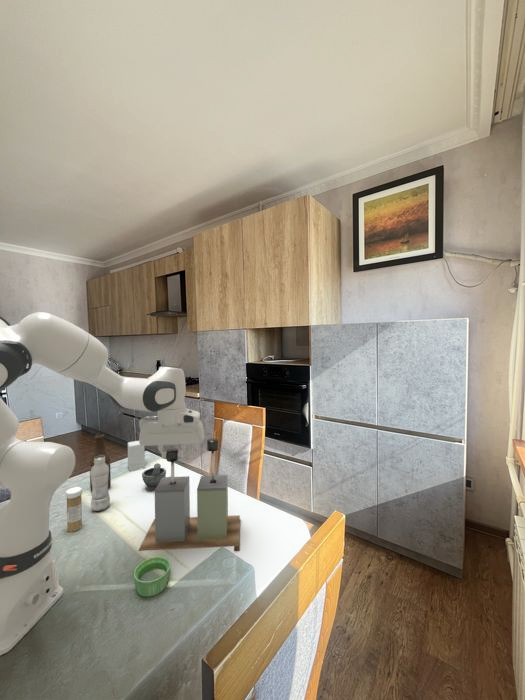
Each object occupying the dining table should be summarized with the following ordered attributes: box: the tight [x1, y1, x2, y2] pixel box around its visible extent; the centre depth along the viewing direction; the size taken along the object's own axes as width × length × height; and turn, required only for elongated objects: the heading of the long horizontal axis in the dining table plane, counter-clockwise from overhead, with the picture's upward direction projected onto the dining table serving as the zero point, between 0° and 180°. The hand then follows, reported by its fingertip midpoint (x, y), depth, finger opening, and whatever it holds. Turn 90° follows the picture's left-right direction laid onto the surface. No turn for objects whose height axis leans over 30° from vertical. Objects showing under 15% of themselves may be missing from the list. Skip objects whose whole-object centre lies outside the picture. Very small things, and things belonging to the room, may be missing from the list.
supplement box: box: [127, 440, 146, 472], centre depth 152 cm, size 7×7×13 cm
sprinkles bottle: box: [65, 486, 83, 533], centre depth 101 cm, size 5×5×13 cm
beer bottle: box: [89, 433, 112, 493], centre depth 128 cm, size 8×8×24 cm
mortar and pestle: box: [141, 462, 167, 492], centre depth 130 cm, size 11×9×12 cm
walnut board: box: [138, 515, 241, 552], centre depth 97 cm, size 16×30×2 cm, turn 94°
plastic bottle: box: [89, 455, 111, 512], centre depth 114 cm, size 6×7×20 cm
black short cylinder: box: [166, 448, 179, 485], centre depth 96 cm, size 7×7×19 cm
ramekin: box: [133, 555, 171, 598], centre depth 78 cm, size 9×9×4 cm
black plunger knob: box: [206, 437, 219, 483], centre depth 97 cm, size 7×7×19 cm
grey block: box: [154, 476, 191, 542], centre depth 97 cm, size 9×9×16 cm
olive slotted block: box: [196, 474, 229, 540], centre depth 97 cm, size 9×9×16 cm
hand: (172, 457), depth 96 cm, fingers closed on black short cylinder, 4 cm apart
